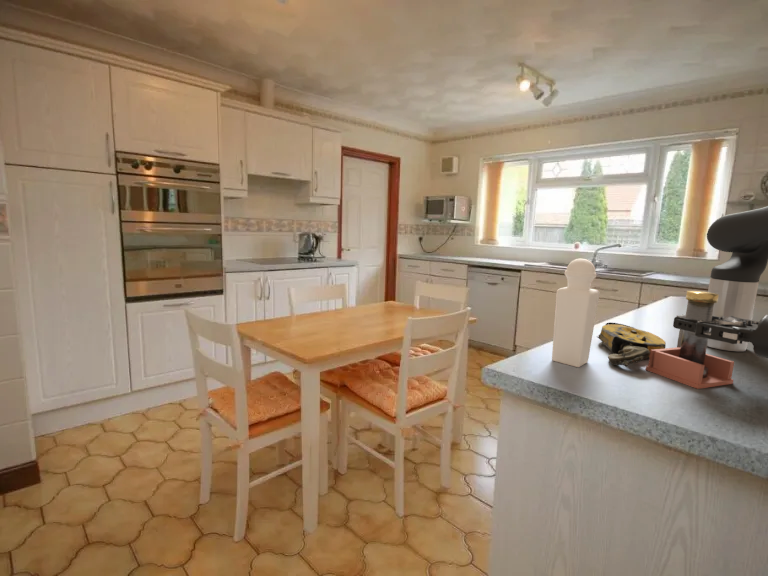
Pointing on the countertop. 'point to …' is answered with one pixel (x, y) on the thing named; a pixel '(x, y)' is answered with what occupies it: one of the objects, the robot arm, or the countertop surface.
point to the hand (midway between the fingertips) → (685, 320)
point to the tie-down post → (692, 345)
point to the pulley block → (628, 343)
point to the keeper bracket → (690, 367)
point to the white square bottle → (575, 314)
